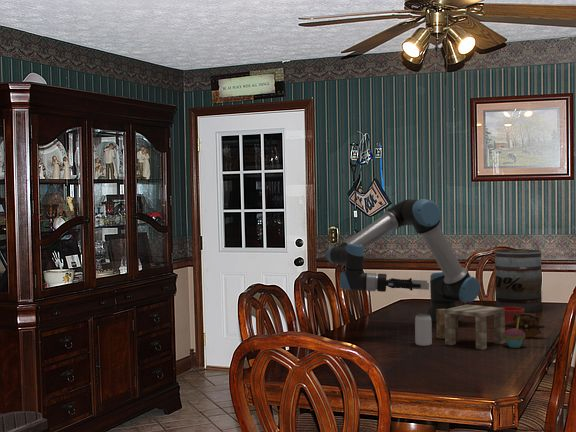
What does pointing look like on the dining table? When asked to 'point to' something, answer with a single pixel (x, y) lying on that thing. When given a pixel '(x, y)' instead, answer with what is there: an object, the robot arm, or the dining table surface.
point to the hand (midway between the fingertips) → (428, 285)
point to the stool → (480, 318)
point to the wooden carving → (526, 324)
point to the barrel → (518, 279)
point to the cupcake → (514, 336)
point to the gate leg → (441, 324)
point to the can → (423, 330)
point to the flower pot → (511, 313)
